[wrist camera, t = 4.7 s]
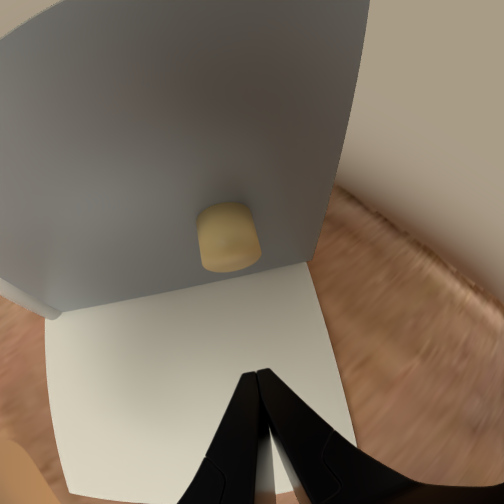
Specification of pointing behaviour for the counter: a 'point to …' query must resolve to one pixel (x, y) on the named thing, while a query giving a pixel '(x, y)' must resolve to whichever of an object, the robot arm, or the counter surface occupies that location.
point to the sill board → (180, 378)
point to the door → (168, 143)
